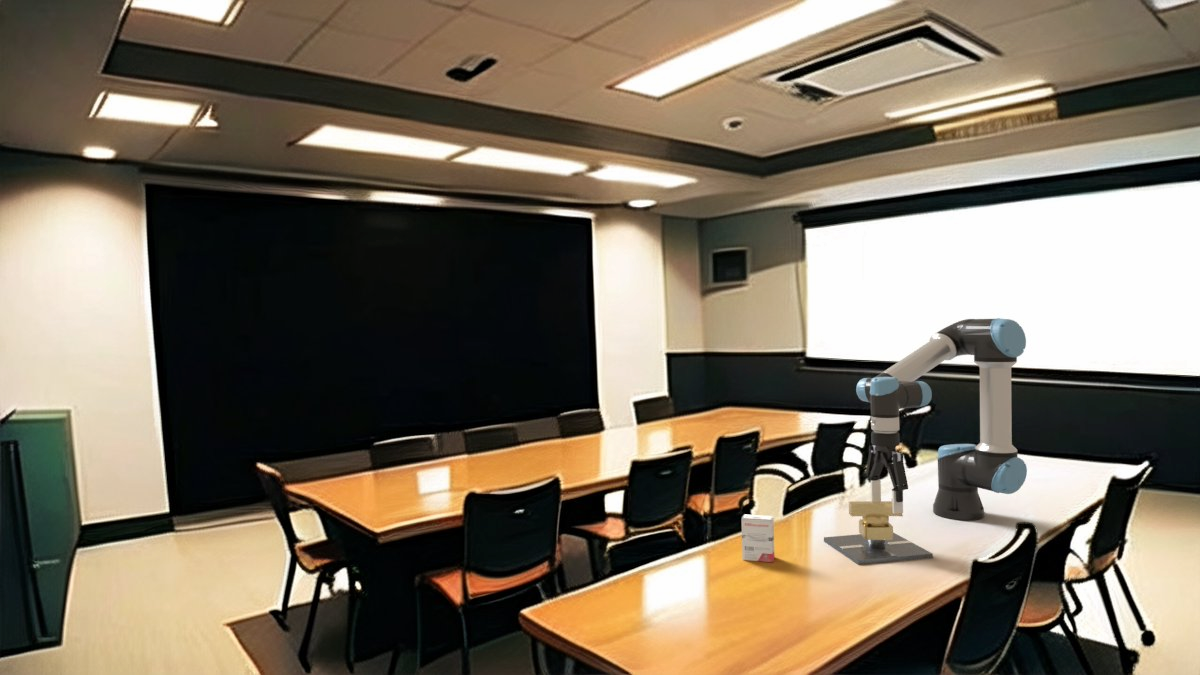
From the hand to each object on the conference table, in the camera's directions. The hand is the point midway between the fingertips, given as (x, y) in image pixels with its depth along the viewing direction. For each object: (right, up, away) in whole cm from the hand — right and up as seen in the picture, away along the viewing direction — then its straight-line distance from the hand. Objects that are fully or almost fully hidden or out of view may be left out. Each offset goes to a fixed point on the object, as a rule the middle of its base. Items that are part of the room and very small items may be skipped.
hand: (886, 507), depth 200 cm
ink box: (-38, -13, -4) cm, 40 cm away
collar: (-3, -8, 0) cm, 9 cm away
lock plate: (-3, -12, 0) cm, 12 cm away
